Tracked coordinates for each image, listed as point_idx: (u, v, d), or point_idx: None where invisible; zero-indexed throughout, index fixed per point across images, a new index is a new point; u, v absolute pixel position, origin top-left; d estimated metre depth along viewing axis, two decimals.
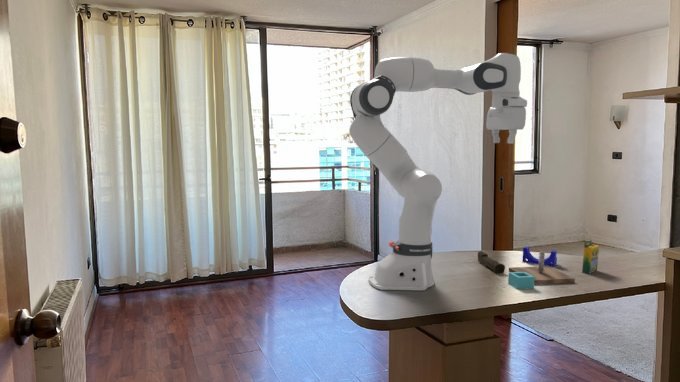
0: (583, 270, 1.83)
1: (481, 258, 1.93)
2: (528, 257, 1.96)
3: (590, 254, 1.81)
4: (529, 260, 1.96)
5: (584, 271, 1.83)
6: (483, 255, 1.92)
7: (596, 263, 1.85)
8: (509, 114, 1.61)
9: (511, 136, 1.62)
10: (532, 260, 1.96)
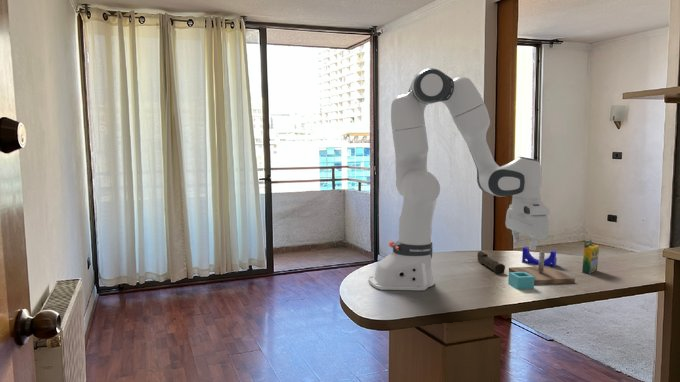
0: (583, 270, 1.83)
1: (481, 258, 1.93)
2: (528, 257, 1.96)
3: (590, 254, 1.81)
4: (529, 260, 1.95)
5: (584, 271, 1.83)
6: (483, 255, 1.92)
7: (596, 263, 1.85)
8: (531, 221, 1.57)
9: (533, 243, 1.58)
10: (532, 260, 1.95)
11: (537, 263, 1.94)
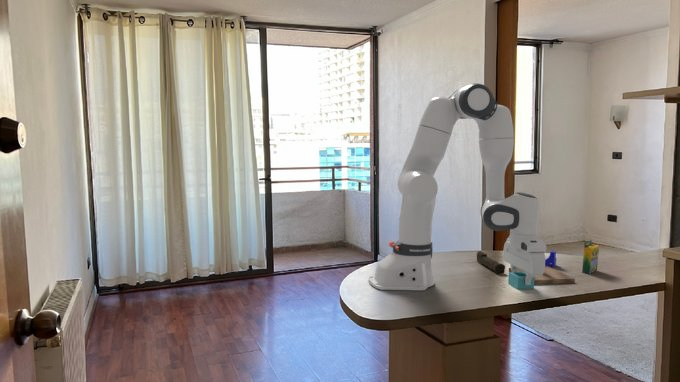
0: (583, 270, 1.83)
1: (480, 258, 1.93)
2: None
3: (590, 254, 1.81)
4: None
5: (584, 271, 1.83)
6: (482, 255, 1.92)
7: (596, 263, 1.85)
8: (528, 258, 1.58)
9: (528, 278, 1.60)
10: None
11: None
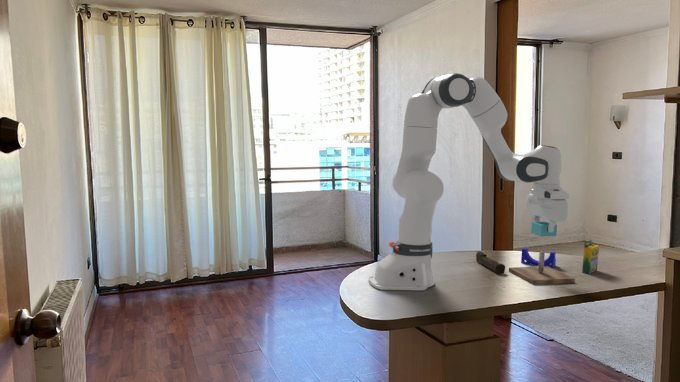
0: (583, 270, 1.83)
1: (480, 258, 1.92)
2: (527, 258, 1.94)
3: (590, 254, 1.81)
4: (528, 261, 1.94)
5: (584, 271, 1.83)
6: (482, 255, 1.92)
7: (596, 263, 1.85)
8: (551, 205, 1.68)
9: (551, 225, 1.70)
10: (531, 261, 1.93)
11: (536, 264, 1.92)
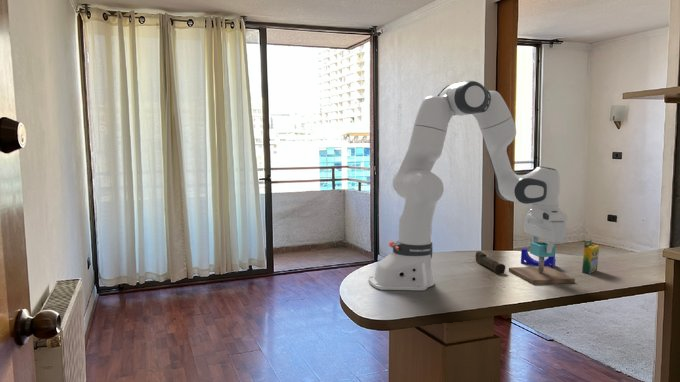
0: (583, 270, 1.83)
1: (480, 258, 1.92)
2: (526, 259, 1.94)
3: (590, 254, 1.81)
4: (527, 262, 1.94)
5: (584, 271, 1.83)
6: (482, 255, 1.92)
7: (596, 263, 1.85)
8: (549, 227, 1.69)
9: (549, 247, 1.71)
10: (530, 262, 1.93)
11: (536, 264, 1.92)
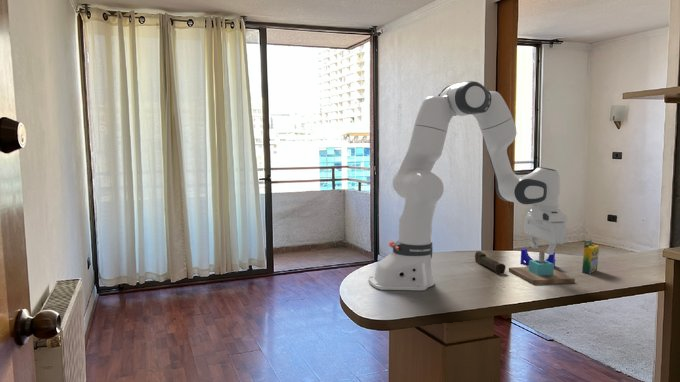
0: (583, 270, 1.83)
1: (479, 258, 1.92)
2: (526, 259, 1.93)
3: (590, 254, 1.81)
4: (527, 262, 1.93)
5: (584, 271, 1.83)
6: (481, 255, 1.92)
7: (596, 263, 1.85)
8: (549, 228, 1.69)
9: (551, 248, 1.70)
10: None
11: None
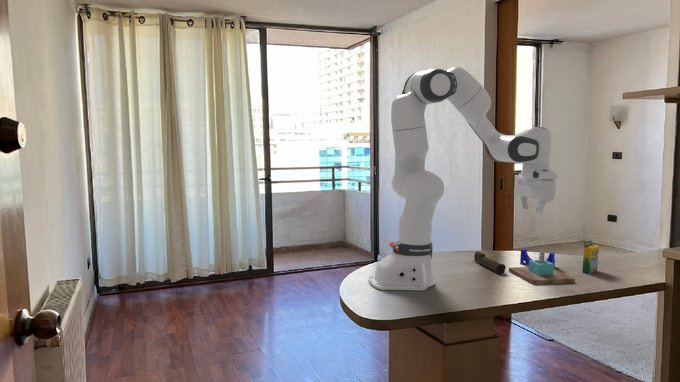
0: (583, 270, 1.83)
1: (479, 258, 1.92)
2: (526, 259, 1.93)
3: (590, 254, 1.81)
4: (527, 262, 1.93)
5: (584, 271, 1.83)
6: (481, 255, 1.92)
7: (596, 263, 1.85)
8: (539, 186, 1.69)
9: (540, 206, 1.70)
10: None
11: None
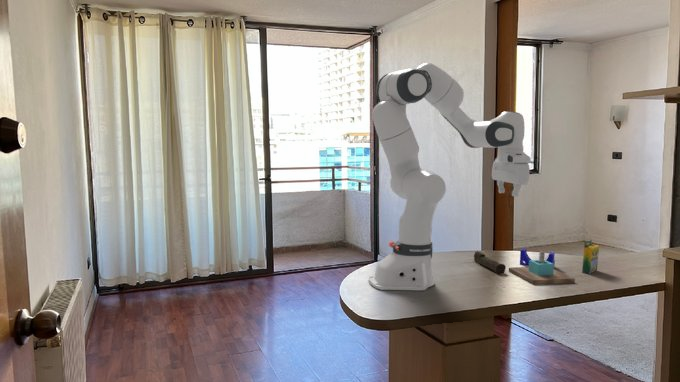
0: (583, 270, 1.83)
1: (479, 258, 1.92)
2: (525, 259, 1.92)
3: (590, 254, 1.81)
4: (526, 262, 1.92)
5: (584, 271, 1.83)
6: (481, 255, 1.92)
7: (596, 263, 1.85)
8: (514, 169, 1.72)
9: (515, 190, 1.73)
10: None
11: None
